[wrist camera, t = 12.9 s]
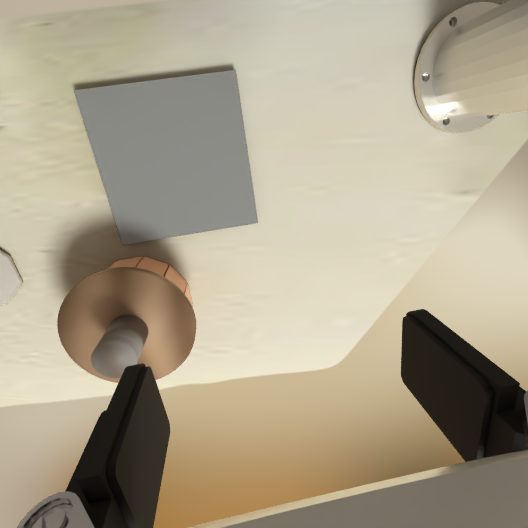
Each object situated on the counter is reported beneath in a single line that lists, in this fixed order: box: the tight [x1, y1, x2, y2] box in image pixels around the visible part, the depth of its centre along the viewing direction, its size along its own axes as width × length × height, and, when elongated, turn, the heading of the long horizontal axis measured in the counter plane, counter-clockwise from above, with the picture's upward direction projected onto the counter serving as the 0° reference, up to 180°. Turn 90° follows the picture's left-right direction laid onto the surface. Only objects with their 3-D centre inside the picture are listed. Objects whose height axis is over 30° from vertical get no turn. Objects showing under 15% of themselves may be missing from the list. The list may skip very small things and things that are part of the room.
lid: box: [58, 267, 196, 383], centre depth 31 cm, size 14×14×6 cm
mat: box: [74, 70, 258, 245], centre depth 34 cm, size 16×16×1 cm
